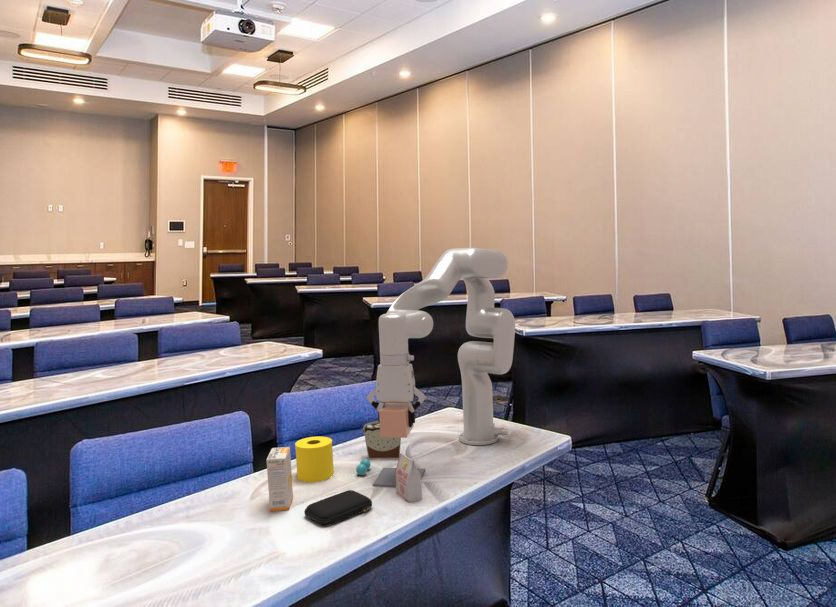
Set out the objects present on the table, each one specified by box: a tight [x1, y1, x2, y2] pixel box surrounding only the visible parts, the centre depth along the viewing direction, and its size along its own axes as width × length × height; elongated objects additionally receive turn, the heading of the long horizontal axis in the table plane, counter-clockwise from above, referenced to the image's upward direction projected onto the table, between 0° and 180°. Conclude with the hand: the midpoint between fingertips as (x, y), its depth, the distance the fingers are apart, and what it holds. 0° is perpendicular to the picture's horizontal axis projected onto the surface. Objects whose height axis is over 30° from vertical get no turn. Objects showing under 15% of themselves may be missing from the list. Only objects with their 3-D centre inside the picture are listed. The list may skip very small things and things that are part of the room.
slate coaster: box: [372, 467, 426, 488], centre depth 159 cm, size 12×12×1 cm
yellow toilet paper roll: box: [294, 436, 335, 483], centre depth 163 cm, size 10×10×9 cm
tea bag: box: [395, 452, 423, 503], centre depth 147 cm, size 4×7×10 cm, turn 28°
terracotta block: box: [378, 403, 414, 439], centre depth 157 cm, size 7×10×7 cm
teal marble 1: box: [359, 458, 371, 470], centre depth 166 cm, size 3×3×3 cm
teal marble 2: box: [355, 463, 368, 476], centre depth 162 cm, size 3×3×3 cm
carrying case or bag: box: [304, 489, 373, 527], centre depth 139 cm, size 11×3×15 cm
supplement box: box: [265, 446, 294, 512], centre depth 145 cm, size 8×5×13 cm, turn 5°
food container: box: [361, 420, 402, 460], centre depth 177 cm, size 12×6×10 cm, turn 84°
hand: (397, 425), depth 158 cm, fingers closed on terracotta block, 7 cm apart
